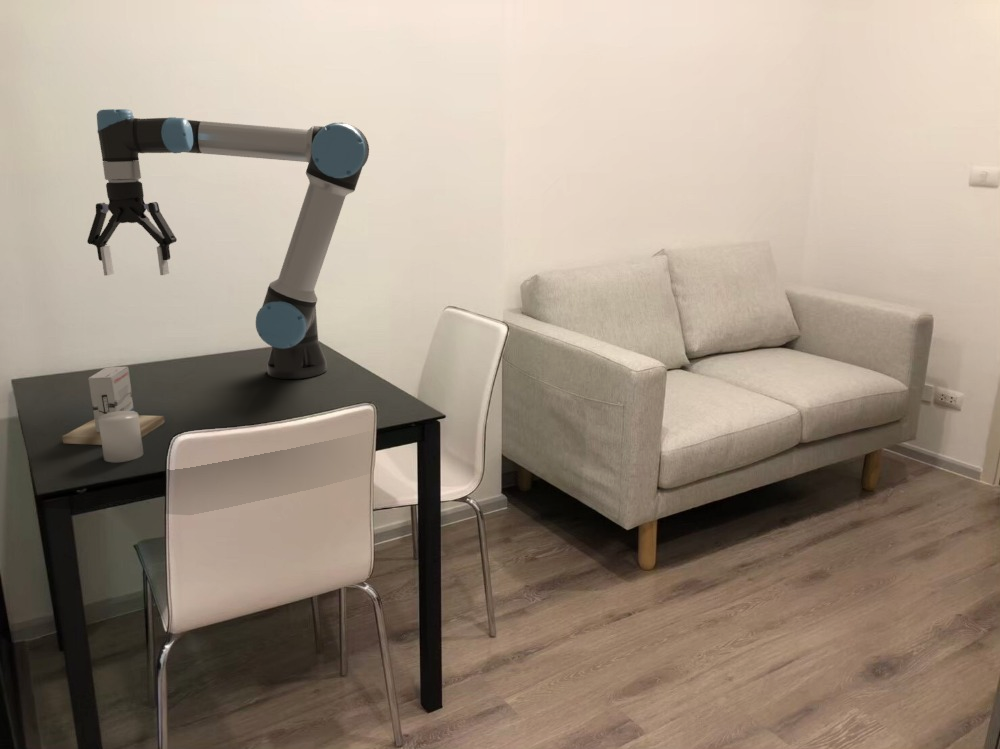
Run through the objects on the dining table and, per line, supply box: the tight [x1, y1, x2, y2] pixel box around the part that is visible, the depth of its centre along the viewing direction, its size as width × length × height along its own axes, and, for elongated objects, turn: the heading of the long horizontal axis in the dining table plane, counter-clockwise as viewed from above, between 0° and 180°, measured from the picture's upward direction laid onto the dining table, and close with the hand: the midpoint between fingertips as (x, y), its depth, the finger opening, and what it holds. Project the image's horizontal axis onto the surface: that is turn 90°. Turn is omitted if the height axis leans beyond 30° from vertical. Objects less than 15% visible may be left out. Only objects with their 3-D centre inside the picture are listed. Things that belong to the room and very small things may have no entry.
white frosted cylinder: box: [98, 410, 144, 463], centre depth 160 cm, size 7×7×8 cm
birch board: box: [62, 414, 165, 446], centre depth 173 cm, size 14×14×2 cm
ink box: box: [88, 366, 135, 432], centre depth 171 cm, size 9×5×12 cm, turn 1°
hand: (136, 274), depth 194 cm, fingers open, 13 cm apart
